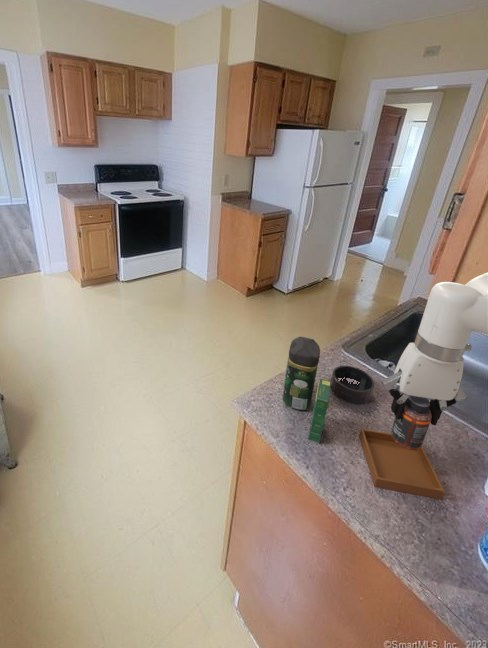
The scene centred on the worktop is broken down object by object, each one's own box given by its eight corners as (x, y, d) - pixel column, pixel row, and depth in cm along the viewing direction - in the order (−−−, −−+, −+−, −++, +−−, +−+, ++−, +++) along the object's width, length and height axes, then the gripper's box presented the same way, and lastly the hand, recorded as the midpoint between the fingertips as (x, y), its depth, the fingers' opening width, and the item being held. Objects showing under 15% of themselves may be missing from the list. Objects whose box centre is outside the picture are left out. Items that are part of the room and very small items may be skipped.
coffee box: (311, 416, 86) (319, 377, 81) (323, 420, 84) (331, 380, 80) (307, 440, 79) (315, 398, 74) (319, 444, 78) (328, 402, 73)
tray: (415, 445, 78) (418, 437, 77) (441, 499, 66) (445, 491, 65) (358, 435, 80) (360, 428, 79) (374, 486, 68) (376, 478, 67)
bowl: (365, 380, 99) (368, 368, 98) (376, 407, 89) (379, 394, 87) (327, 374, 101) (329, 363, 99) (333, 401, 91) (336, 388, 89)
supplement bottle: (426, 444, 69) (442, 403, 65) (411, 456, 66) (427, 415, 62) (399, 424, 74) (412, 385, 70) (384, 434, 71) (396, 395, 67)
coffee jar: (284, 383, 97) (292, 331, 90) (311, 391, 94) (322, 337, 87) (280, 406, 88) (288, 350, 82) (309, 415, 86) (321, 358, 79)
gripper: (477, 340, 63) (449, 410, 70) (383, 329, 66) (364, 397, 73) (502, 364, 56) (468, 439, 63) (396, 351, 59) (374, 424, 66)
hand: (413, 416), depth 68 cm, fingers closed on supplement bottle, 6 cm apart
